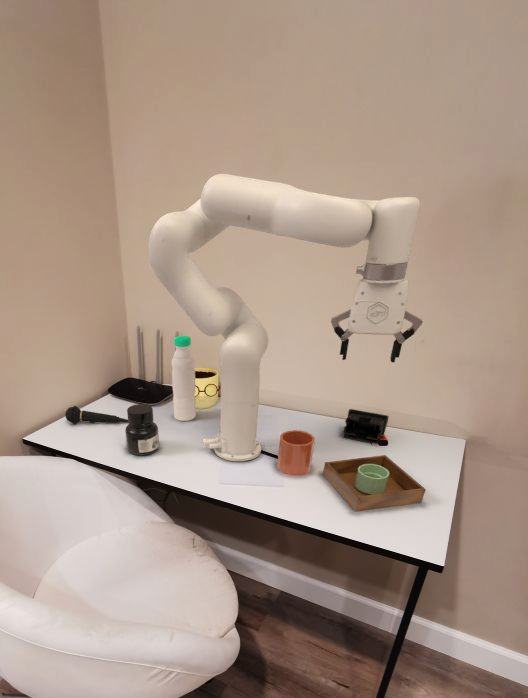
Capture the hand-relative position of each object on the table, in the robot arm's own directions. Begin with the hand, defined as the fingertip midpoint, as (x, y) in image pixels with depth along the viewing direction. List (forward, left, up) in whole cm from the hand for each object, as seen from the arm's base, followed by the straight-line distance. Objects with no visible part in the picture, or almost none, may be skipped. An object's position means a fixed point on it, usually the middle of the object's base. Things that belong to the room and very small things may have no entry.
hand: (367, 359), depth 93 cm
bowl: (0, -11, -26) cm, 29 cm away
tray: (0, -11, -27) cm, 29 cm away
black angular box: (+12, +14, -27) cm, 32 cm away
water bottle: (-34, +39, -27) cm, 58 cm away
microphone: (-62, +41, -27) cm, 79 cm away
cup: (-13, +2, -27) cm, 30 cm away
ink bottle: (-49, +21, -27) cm, 60 cm away
